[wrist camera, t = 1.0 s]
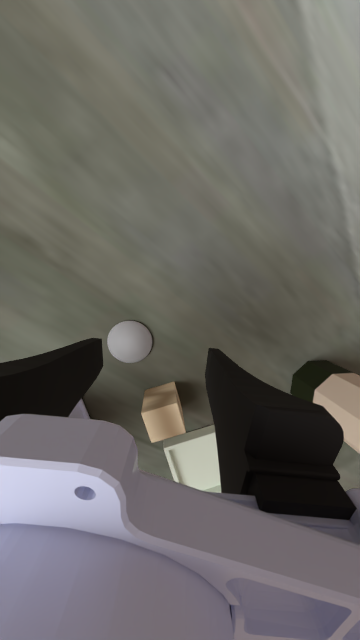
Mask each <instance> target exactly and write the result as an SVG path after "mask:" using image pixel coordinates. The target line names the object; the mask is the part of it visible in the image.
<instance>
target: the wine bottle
mask: <svg viewBox="0 0 360 640" xmlns="http://www.w3.org/2000/svg"><path fill="white" fill-rule="evenodd" d="M291 394H292V395H293V396H295V397H298V398H301V399H303V400H306V401H309V402H312V403H315V404H318V405H321V406H323V407H324V408H325V409H326V410H327V411H328V412H329V413H330V414H331V415H332V416H333V417H334V418H335V419H336V421H337V422H338V423H339V424H340V425H341V427H342V429H343V431H344V441H345V442H346V443H347V444H348V445H350V446H351V447H352V448H353V449H354V450H356V451H357V452H358V453H359V454H360V376H359V375H357V374H355V373H353V372H351V371H348V370H346V369H344V368H342V367H340V366H337V365H335V364H333V363H331V362H329V361H308V362H307V363H305V364H304V365H303V366H302V367H301V368H300V369H299V370H298V371H297V372H296V373H295V374H293V378H292V386H291Z"/></svg>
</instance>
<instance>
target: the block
mask: <svg viewBox="0 0 360 640" xmlns="http://www.w3.org/2000/svg"><path fill="white" fill-rule="evenodd" d="M141 414H142V417H143V420H144V423H145V426H146V429H147V431H148V434H149V437H150V440H151V443H154V442H157V441H160V440H164V439H167V438H170V437H173V436H177V435H180V434H183V433H186V431H185V424H184V418H183V412H182V406H181V403H180V400H179V396H178V393H177V389H176V386H175V383H174V382H171V383H168V384H164V385H161V386H157V387H154V388H150V389H147V390H145V393H144V399H143V405H142V411H141Z"/></svg>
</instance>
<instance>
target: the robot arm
mask: <svg viewBox="0 0 360 640" xmlns="http://www.w3.org/2000/svg"><path fill="white" fill-rule="evenodd" d="M102 367H103V354H102V339H98V338H90V339H86V340H83V341H80V342H77V343H74V344H71V345H68V346H65V347H63V348H59V349H56V350H53V351H50V352H47V353H43V354H40V355H36V356H32V357H28V358H24V359H19V360H14V361H9V362H4V363H0V640H360V489H359V488H354V489H349V490H347V491H346V492H345V491H344V489H343V488H342V486H341V485H340V484H339V482H338V481H337V480H339V479H340V474H339V473H338V471H337V470H336V469H335V467H334V466H333V463H334V461H335V459H336V457H337V455H338V453H339V451H340V449H341V447H342V444H343V440H344V431H343V429H342V427H341V425H340V424H339V423H338V422H337V421H336V419H335V418H334V417H333V416H332V415H331V414H330V413H329V412H328V411H327V410H326V409H325V408H324V407H323V406H321V405H318V404H315V403H312V402H309V401H306V400H303V399H301V398H298V397H295V396H293V395H290V394H288V393H285V392H283V391H281V390H278V389H276V388H274V387H272V386H270V385H268V384H266V383H264V382H263V381H261V380H259V379H257V378H256V377H254V376H252V375H251V374H249V373H248V372H246V371H245V370H244V369H242V368H241V367H239V366H238V365H237V364H236V363H234V362H233V361H232V360H231V359H230V358H228V357H227V356H226V355H225V354H224V353H223V352H222V351H220V350H219V349H214V348H209V351H208V358H207V365H206V372H205V379H206V389H207V393H208V398H209V402H210V407H211V411H212V415H213V420H214V426H215V434H216V443H217V452H218V461H219V472H220V483H221V493H217V492H205V491H202V490H199V489H196V488H193V487H190V486H187V485H184V484H181V483H178V482H175V481H172V480H169V479H166V478H163V477H160V476H158V475H155V474H152V473H149V472H146V471H143V470H140V469H139V468H138V449H137V446H136V443H135V441H134V438H133V436H132V435H131V434H130V433H129V432H127V431H126V430H125V429H124V428H123V427H121V426H120V425H118V424H114V423H111V422H107V421H104V420H93V419H90V417H89V415H88V412H87V410H86V408H85V405H84V403H83V401H82V397H83V396H84V394H85V393H86V392H87V390H88V389H89V388H90V386H91V385H92V384H93V382H94V381H95V379H96V378H97V376H98V375H99V373H100V371H101V369H102Z"/></svg>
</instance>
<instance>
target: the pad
mask: <svg viewBox="0 0 360 640" xmlns="http://www.w3.org/2000/svg"><path fill="white" fill-rule="evenodd" d="M107 343H108V348H109V350H110V352H111V354H112V355H113V356H114V357H115V358H117V359H118V360H120V361H122V362H126V363H134V362H138V361H140V360H142V359H144V358H145V357H146V356H147V355H148V354H149V352H150V350H151V347H152V336H151V334H150V332H149V330H148V329H147V328H146V327H145V326H144V325H143V324H141V323H139V322H136V321H123V322H121V323H118V324H117V325H116V326H114V327H113V328H112V330H111V331H110V333H109V335H108V340H107Z"/></svg>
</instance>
